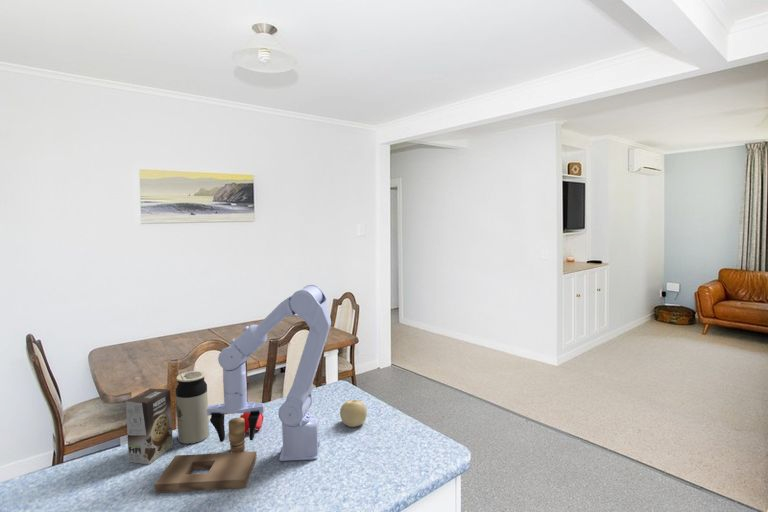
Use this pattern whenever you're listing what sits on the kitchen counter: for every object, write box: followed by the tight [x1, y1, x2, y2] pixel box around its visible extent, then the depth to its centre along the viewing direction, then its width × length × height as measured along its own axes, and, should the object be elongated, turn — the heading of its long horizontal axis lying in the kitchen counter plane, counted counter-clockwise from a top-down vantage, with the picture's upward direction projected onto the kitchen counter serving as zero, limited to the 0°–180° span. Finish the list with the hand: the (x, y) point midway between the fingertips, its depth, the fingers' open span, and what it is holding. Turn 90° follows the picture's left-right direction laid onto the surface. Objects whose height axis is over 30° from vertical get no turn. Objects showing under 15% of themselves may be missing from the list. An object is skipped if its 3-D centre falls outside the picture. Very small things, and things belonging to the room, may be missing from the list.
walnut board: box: [154, 451, 258, 494], centre depth 105 cm, size 20×12×2 cm, turn 95°
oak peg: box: [228, 417, 246, 453], centre depth 116 cm, size 4×4×8 cm
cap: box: [239, 413, 264, 434], centre depth 127 cm, size 8×6×6 cm
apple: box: [339, 399, 368, 428], centre depth 130 cm, size 8×8×8 cm
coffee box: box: [125, 387, 174, 465], centre depth 114 cm, size 9×6×16 cm
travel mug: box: [175, 370, 210, 445], centre depth 122 cm, size 8×8×18 cm
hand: (237, 439), depth 116 cm, fingers open, 7 cm apart
